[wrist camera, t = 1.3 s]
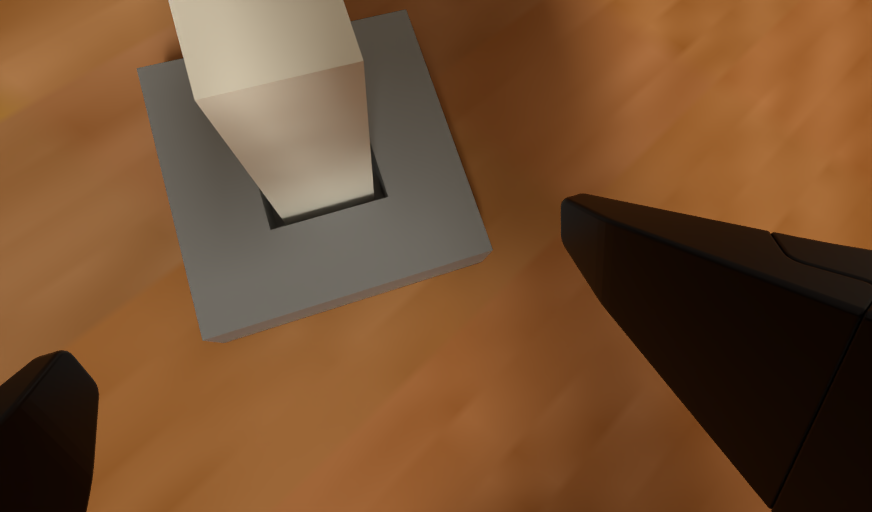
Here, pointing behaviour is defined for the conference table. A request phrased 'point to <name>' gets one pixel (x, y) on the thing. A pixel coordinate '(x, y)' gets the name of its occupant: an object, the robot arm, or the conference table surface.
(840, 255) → the robot arm
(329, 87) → the plug
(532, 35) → the conference table surface
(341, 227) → the grey square frame
